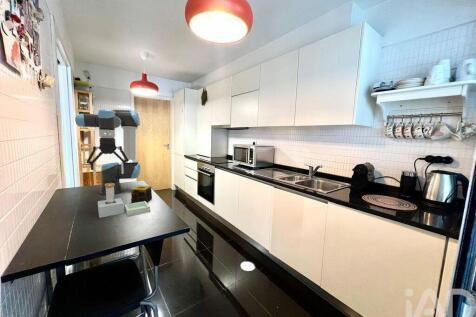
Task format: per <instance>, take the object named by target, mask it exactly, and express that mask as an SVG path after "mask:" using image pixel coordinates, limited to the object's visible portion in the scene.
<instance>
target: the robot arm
mask: <svg viewBox="0 0 476 317" xmlns="http://www.w3.org/2000/svg"><path fill="white" fill-rule="evenodd" d="M74 121H75V124H76V126H77V127H81V128H98V129H99V130H98V136H99V137H100V138H99V146H95V145H93V147H92V151H91V152H90V155H89V156H88V158H87V160H86V164H88V165H90V170H91V171H93V177H96V164H95V163H96V162H97V160H99V158H100V157H101V156H103V155H113V154H114V155H115V156H116V157H117V158H118V159H119V160H120V161H121V162H120V163H119V162H118V161H117V162H107V163H105V164H104V163H103V164H102V165H101V167H100V168H101V169H100V170H101V186H100V190H99V194H100V195H103V196H106V187H105V184H106V183H115V185H114V195H116V194H120V193H122V192H123V187H122V185H121V182H120V180H130V179H131V180H134V179H138V178H139V176H140V173H141V164H140V163H139V161H138V160H137V157H136V156H137V148H136V147H137V146H136V145H137V141H136V134H137V132H136V130H137V129H138V126H140V125H141V121H140V116H139V113H138V112H137V110H129V109H128V110H127V109H104V108H103V109H99V110H98V112H96V113H77V114H76V115H75V117H74ZM119 127H120V128H121V129H122V134H123V137H122V138H123V139H122V140H123V141H122V143H123V145H119V146H116V130H115V129H117V128H119ZM98 149H99V151H100V152H99V153H98V154H97V155H96V156H95V157H94V155H95V153H96V151H98ZM116 150H118V151H119V152H120V153H121V154H122V156H123V157H121V156H120V155H119V154H118V152H116ZM93 157H94V158H93ZM92 158H93V159H92Z"/></svg>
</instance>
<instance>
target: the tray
mask: <svg viewBox="0 0 476 317" xmlns="http://www.w3.org/2000/svg"><path fill="white" fill-rule="evenodd" d="M150 212H151V206H150V205H149V204H148V203H147V202H146V201H144V202H137V203H126V204H125V203H124V213H126V216H127V217H130V216H136V215H140V214H146V213H147V214H148V213H150Z"/></svg>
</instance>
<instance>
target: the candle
mask: <svg viewBox="0 0 476 317" xmlns="http://www.w3.org/2000/svg"><path fill="white" fill-rule="evenodd" d="M130 192H131V194H130V196H131V198H130V202H131V203H137V202H144V201H146V202H147V204H148V203H149V202H151V201H152V199H153V193H152V192H153V191H152V185H137V186H135V187H132V188H131V189H130ZM131 203H130V204H131Z"/></svg>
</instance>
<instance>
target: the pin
mask: <svg viewBox="0 0 476 317" xmlns="http://www.w3.org/2000/svg"><path fill="white" fill-rule="evenodd" d="M114 185H115V183H106V184H105V187H106V195H105V198H106V199H105V200H106V202H107V204H112V203H115V200H114V199H115V194H114Z"/></svg>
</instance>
